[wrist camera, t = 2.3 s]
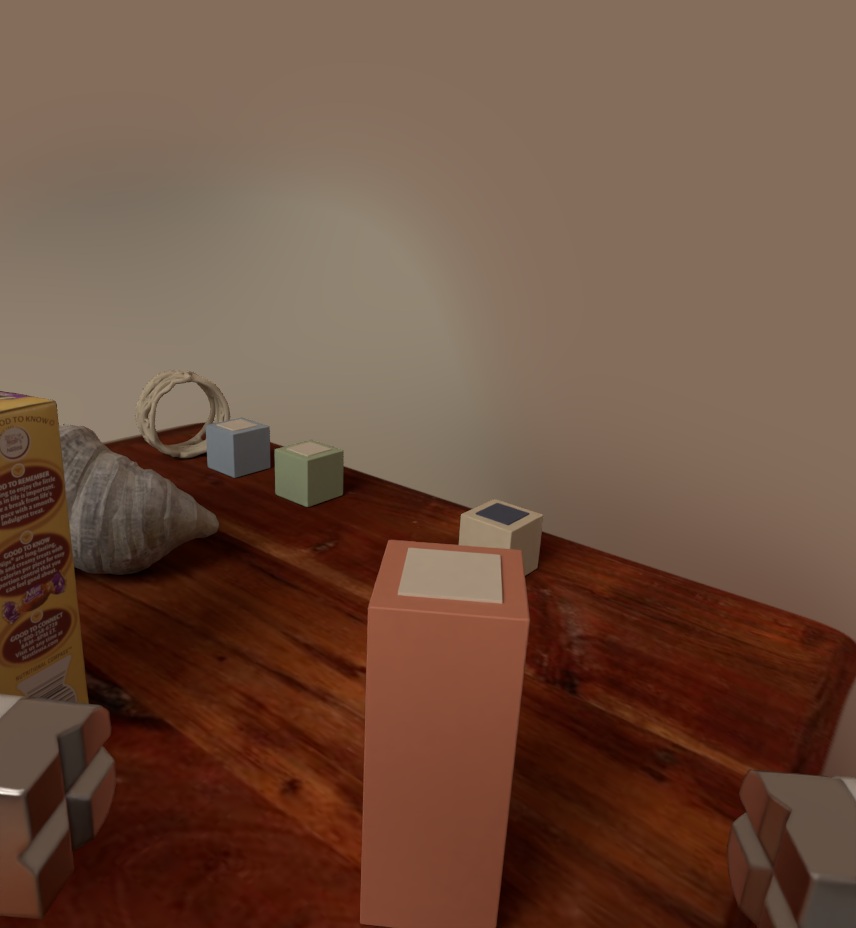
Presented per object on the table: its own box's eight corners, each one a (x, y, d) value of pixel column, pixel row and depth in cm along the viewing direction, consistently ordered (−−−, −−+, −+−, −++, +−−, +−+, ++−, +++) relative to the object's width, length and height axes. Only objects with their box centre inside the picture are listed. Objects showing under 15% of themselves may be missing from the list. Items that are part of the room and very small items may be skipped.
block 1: (270, 468, 66) (269, 425, 64) (234, 478, 63) (232, 433, 61) (243, 457, 68) (242, 416, 67) (207, 467, 65) (205, 423, 64)
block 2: (343, 495, 60) (343, 448, 59) (307, 507, 57) (307, 459, 56) (311, 483, 62) (310, 438, 61) (275, 494, 59) (274, 447, 58)
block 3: (537, 568, 49) (544, 513, 48) (506, 588, 46) (511, 530, 45) (490, 550, 51) (494, 497, 50) (456, 568, 48) (460, 512, 47)
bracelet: (135, 457, 67) (128, 373, 64) (213, 442, 72) (210, 364, 69) (153, 468, 64) (146, 381, 61) (233, 453, 69) (230, 372, 67)
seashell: (228, 560, 48) (222, 416, 45) (-8, 652, 37) (-40, 470, 34) (104, 497, 57) (92, 374, 54) (-114, 555, 46) (-146, 405, 43)
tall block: (493, 829, 28) (522, 546, 24) (495, 939, 23) (530, 616, 19) (378, 818, 28) (388, 536, 24) (359, 924, 24) (367, 603, 20)
